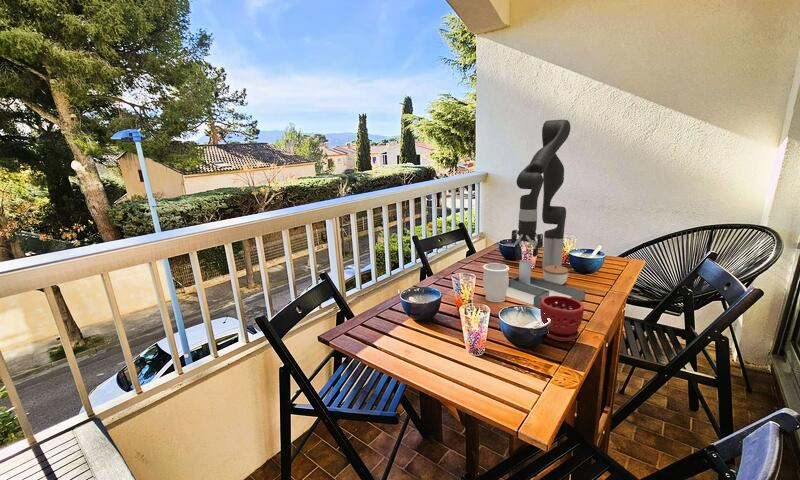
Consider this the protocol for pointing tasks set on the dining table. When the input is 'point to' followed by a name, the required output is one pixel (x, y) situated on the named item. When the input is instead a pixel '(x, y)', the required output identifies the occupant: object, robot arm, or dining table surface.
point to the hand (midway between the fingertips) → (525, 254)
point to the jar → (495, 281)
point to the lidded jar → (555, 274)
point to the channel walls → (542, 293)
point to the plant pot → (562, 317)
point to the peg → (525, 271)
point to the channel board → (530, 295)
